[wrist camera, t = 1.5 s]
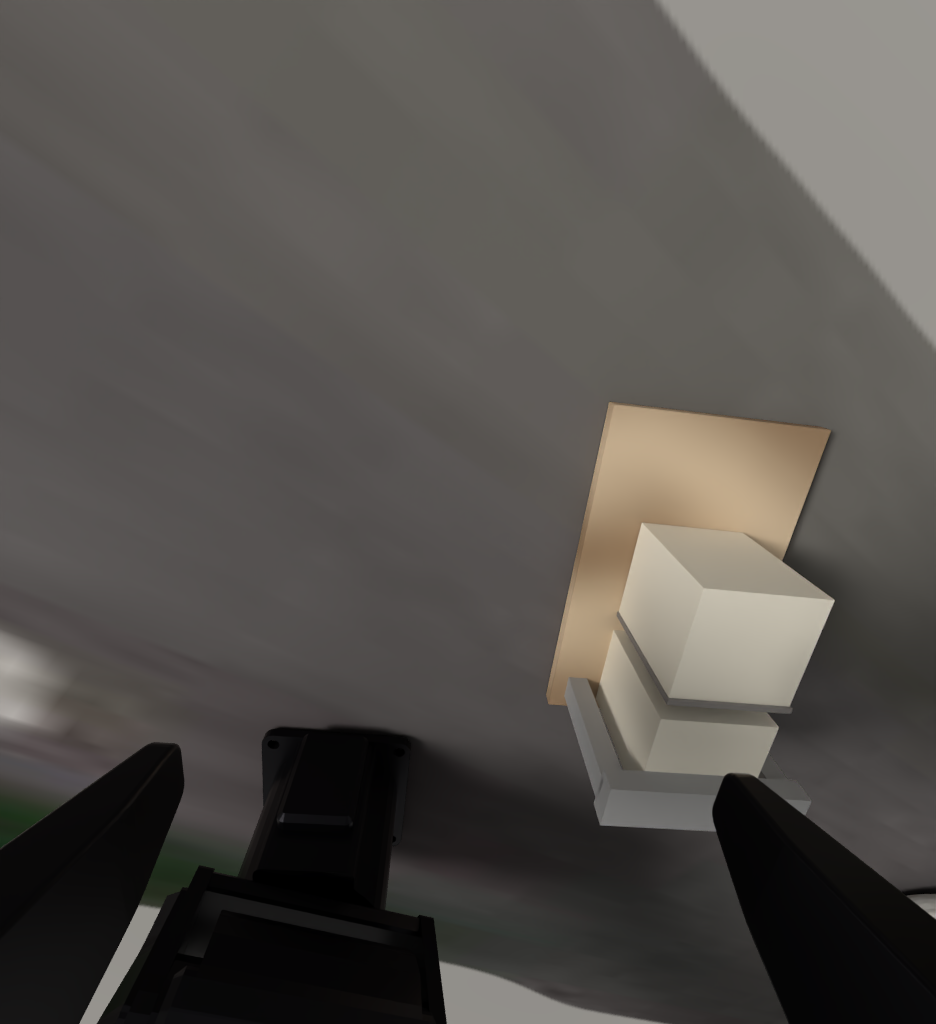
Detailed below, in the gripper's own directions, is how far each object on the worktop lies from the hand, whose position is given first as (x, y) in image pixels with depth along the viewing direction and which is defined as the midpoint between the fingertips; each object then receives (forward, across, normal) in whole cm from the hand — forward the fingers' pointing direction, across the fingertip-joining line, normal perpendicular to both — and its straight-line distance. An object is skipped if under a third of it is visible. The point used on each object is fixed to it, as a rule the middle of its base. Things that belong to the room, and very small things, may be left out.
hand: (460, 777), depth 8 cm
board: (+12, -9, +2) cm, 15 cm away
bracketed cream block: (+11, -9, +6) cm, 16 cm away
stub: (+11, -9, +1) cm, 15 cm away
